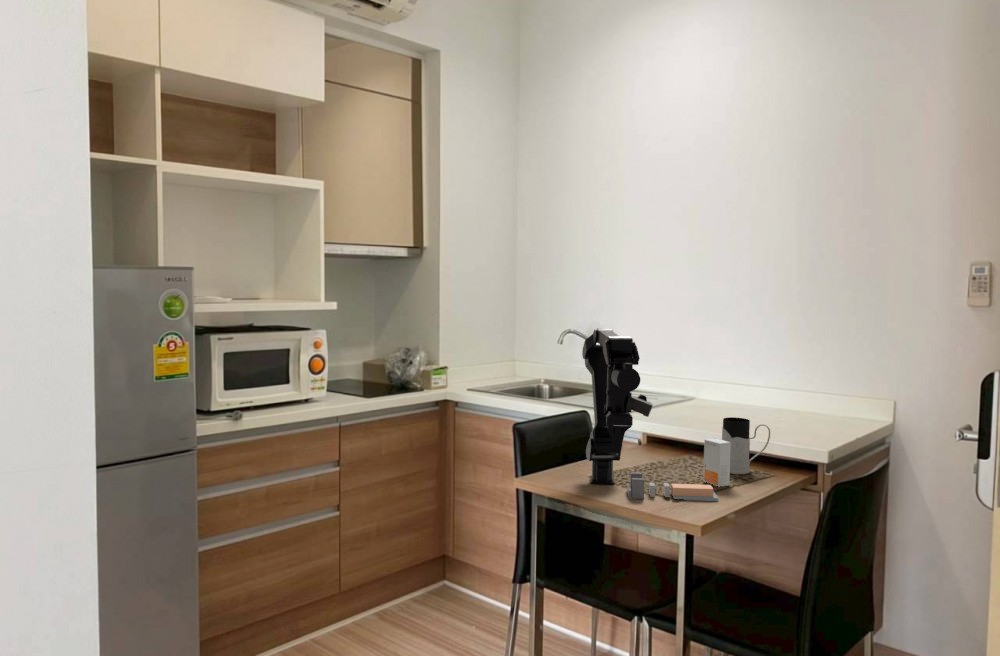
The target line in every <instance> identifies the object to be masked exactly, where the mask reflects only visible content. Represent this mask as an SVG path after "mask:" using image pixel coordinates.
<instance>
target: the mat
mask: <svg viewBox="0 0 1000 656" xmlns="http://www.w3.org/2000/svg"><path fill="white" fill-rule="evenodd" d="M671 493H672V492H671V491H670V494H671ZM672 496H673V497H672ZM671 497H672V499H673V498H674V499H684V500H683V501H698V502H699V501H700V502H701V501H702V502H703V501H705V502H719V496H718V495H717V494H716V492H715V491H713V497H704V496H676V495H673V494H671ZM674 499H673V500H674Z"/></svg>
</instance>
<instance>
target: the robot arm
mask: <svg viewBox="0 0 1000 656" xmlns="http://www.w3.org/2000/svg"><path fill="white" fill-rule="evenodd" d="M581 355H582V359H583V360H584V365H585V368H586V370H587V371H588V372H589V373H590V375H591V385H592V386H591V387H592V399H593V403H592V404H593V414H594V415H593V416H594V425H593V428H592V430H591V432H590V434H589V438H588V441H587V444H586V447H585V448H586V449H585V458H586V459H587V460H588V461H589V462H591V465H592V466H591V476H590V477H589V480H590V484H597V485H598V484H599V485H600V484H601V485H615V482H616V481H615V477H614V461H620V460H621V452H622V449H623V441H624V437H625V434H626V431H628V430H629V429H631V428H632V427H633V425H634V424H633V423H634V422H633V418H634V417H633V415H632V414H631V413H632V411H633V412H636V413H638V414H641V415H642V416H644V417H648V418H649V416H650V414H651V411H652V409H653V404H652V403H651V402H650V401H648V399H647V396H646V395H644V394H641V393H640V394H639V395H638V396H634V395H632V392H633V391H635V390H637V388H638V387H639V386H640V383H641V376H640V374H639V372H638V371H637V370H636V369H635V368H634V367H633V366H638V365H639V361H640V354H639V351H638V346H637V345H636V342H635V341H634V339H633V337H632V336H620V335H618V334H617V333H616V332H614V330H613V329H611V328H608V327H606V328H602V327H601V328H600V327H599V328H594V330H593V332H592V334H591V335H590V336H588V337H587V338H586V339H585V340H584V342H583V347H582V354H581Z"/></svg>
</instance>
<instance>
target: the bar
mask: <svg viewBox="0 0 1000 656" xmlns="http://www.w3.org/2000/svg"><path fill="white" fill-rule="evenodd" d="M670 485H671V486H670V493H671V492H672V494H673V495H676V496H704V497H713V492H714V488H713V486H712V484H695V483H693V484H692V483H688V484H687V483H671V484H670ZM672 494H671V495H672Z"/></svg>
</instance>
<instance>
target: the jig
mask: <svg viewBox="0 0 1000 656" xmlns="http://www.w3.org/2000/svg"><path fill="white" fill-rule="evenodd" d="M629 478H630V482H629V483H628V482H627V483H626V492H627V497H628V499H630V500H631V499H634V500H645V478H643V472H637V471H636V472H630V475H629ZM663 493H664V495H663V497H664V496H665V497H670V494H671V486H670V484H669V483H668V482H664V483H663ZM648 495H650V496H649V497H650V498H655V496H656V484H655V482H649V483H648ZM665 497H664V498H665Z"/></svg>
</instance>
